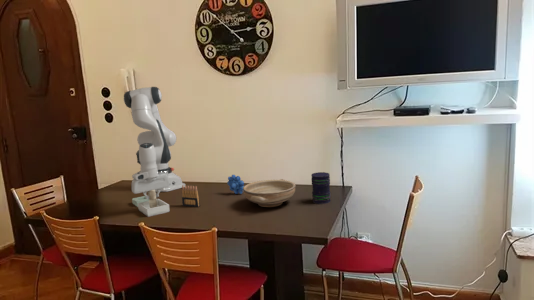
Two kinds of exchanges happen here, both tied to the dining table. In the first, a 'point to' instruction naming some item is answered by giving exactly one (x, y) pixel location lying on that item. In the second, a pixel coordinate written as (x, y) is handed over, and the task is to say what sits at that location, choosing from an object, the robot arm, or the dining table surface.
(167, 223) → the dining table surface
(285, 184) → the ceramic bowl
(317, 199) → the storage jar
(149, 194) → the dowel
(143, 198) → the holder
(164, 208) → the tray
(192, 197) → the ammunition clip
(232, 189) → the grapes
